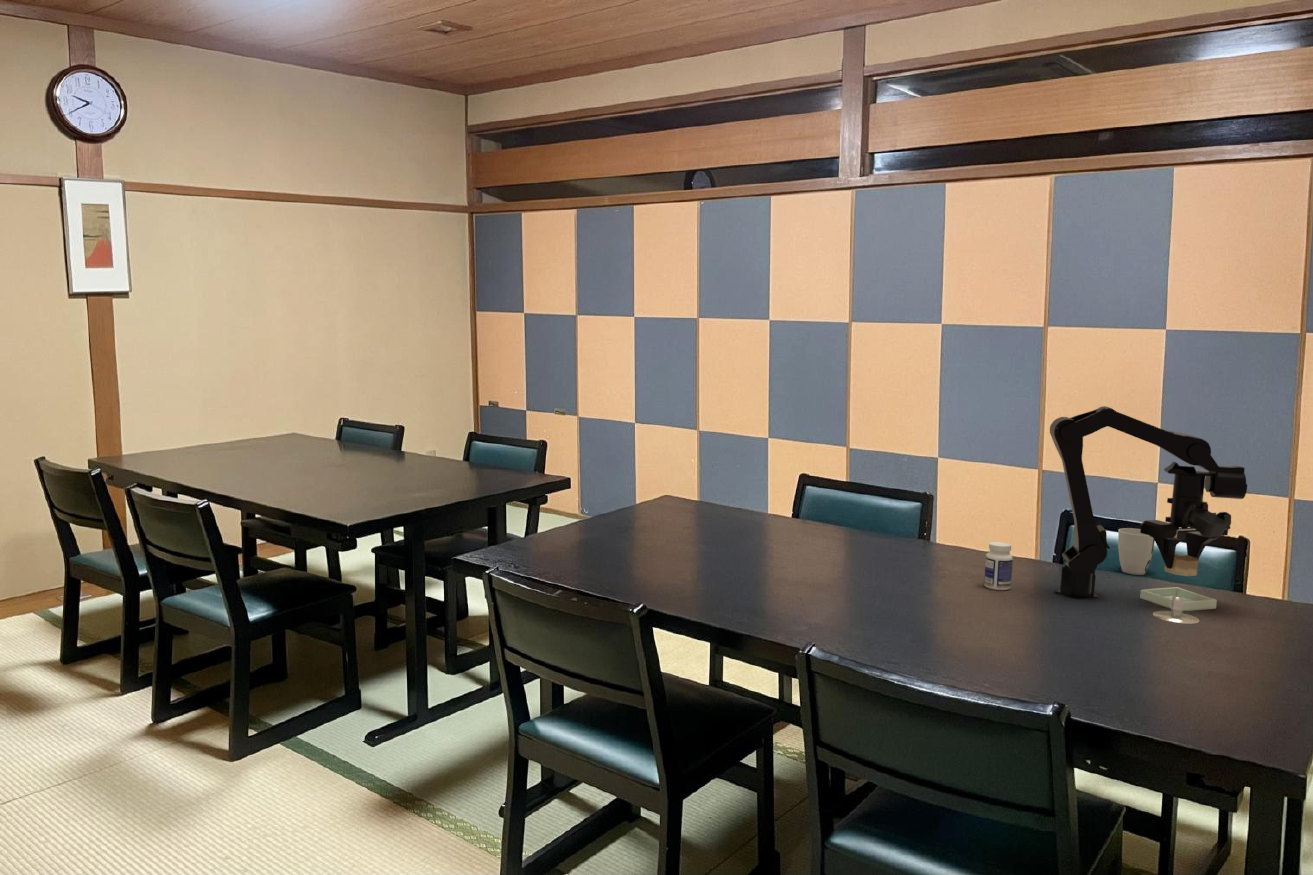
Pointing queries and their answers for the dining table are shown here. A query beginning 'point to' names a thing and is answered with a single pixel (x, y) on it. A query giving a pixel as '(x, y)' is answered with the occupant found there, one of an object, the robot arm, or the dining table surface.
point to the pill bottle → (998, 566)
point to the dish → (1189, 598)
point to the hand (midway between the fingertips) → (1180, 567)
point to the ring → (1183, 565)
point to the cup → (1134, 550)
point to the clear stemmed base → (1176, 613)
